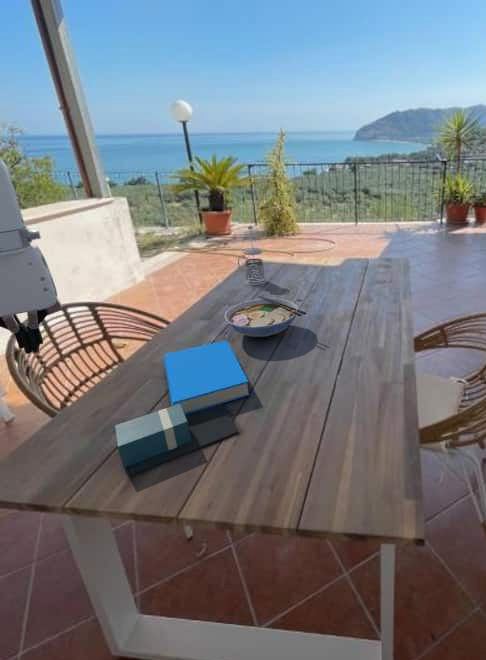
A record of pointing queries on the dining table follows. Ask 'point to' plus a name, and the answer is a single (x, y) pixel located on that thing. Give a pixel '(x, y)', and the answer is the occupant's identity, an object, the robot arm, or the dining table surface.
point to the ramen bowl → (262, 316)
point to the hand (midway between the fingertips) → (33, 349)
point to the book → (204, 377)
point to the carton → (152, 434)
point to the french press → (253, 261)
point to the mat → (194, 436)
